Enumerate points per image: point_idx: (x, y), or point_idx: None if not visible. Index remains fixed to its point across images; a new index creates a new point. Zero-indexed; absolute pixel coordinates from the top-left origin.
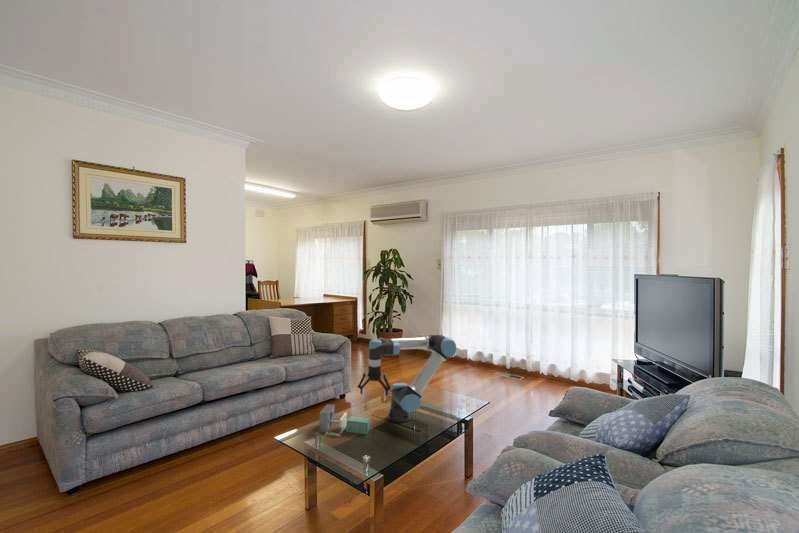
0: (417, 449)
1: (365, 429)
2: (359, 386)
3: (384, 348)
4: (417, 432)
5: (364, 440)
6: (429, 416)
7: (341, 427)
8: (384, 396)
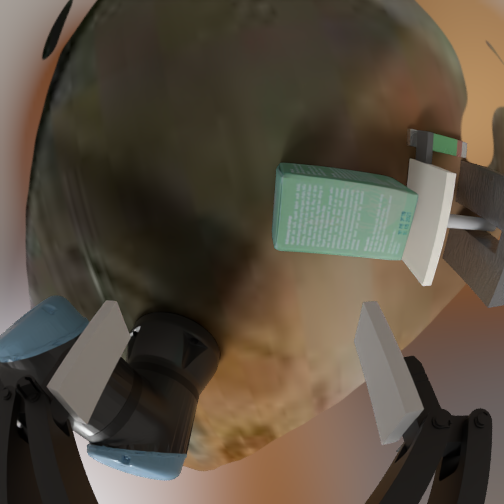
0: (46, 100)
1: (289, 166)
2: (472, 433)
3: None
4: (72, 239)
5: (276, 95)
6: None
7: (424, 163)
8: (87, 335)
